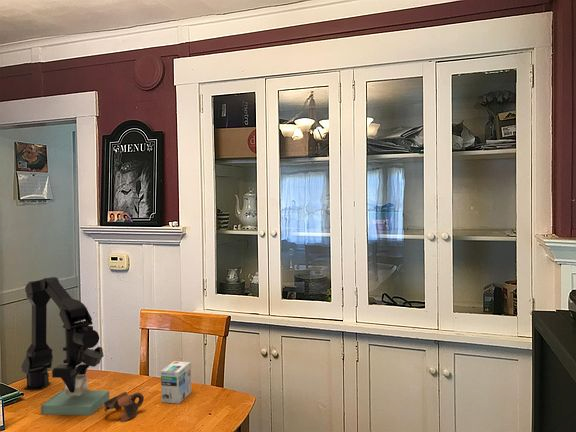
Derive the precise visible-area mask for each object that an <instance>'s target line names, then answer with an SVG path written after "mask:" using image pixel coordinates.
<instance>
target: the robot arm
mask: <svg viewBox="0 0 576 432" xmlns="http://www.w3.org/2000/svg"><path fill="white" fill-rule="evenodd" d="M24 289H25V295H26V298H27V300H28V301H29V303H30V304H31V344H30V346H29V347H28V349H27V350H26V355H25V359H24V360H23V363H22V364H21V371H22V372H23V373H24V374H26V386H24V388H23V389H24V390H42V389H43V388H45V387H47V386H48V385H50V384H51V381H50V378H49V372H48V369H51V368H52V366H53V365H52V363H53V358H54V357H53V349H52V348H51V347H50V346H49V344H48V342H47V323H48V321H47V319H48V316H47V306H48V303H49V302H50V300H52V301H53V302H54V304H55V305H56V306H57V307H58V309H59V314H58V315H59V317H60V319H61V321H62V323H63V325H62V328H63V329H64V330H65V331H64V335H65V338H64V339H65V346H63V347H62V352H63V351H64V352H65V358H64V359H63V364H59V365H57V366H56V367H54V368H53V369H52V370H51V377H52V378H54V379H55V378H56V379H58V378H59V379H60V378H61V380H62V381H63V382H64V385H65V384H66V386H67V388H68V389H69V391H70V392H71V393H73V392H74V390H75V378H76V376H77V375H87V371H88V369H89V368H90V367H92V368H94V367H96V366H98V365H99V364H100V363H101V360H102V358H103V357H104V349H103V347H101V346H97V347H96V345H97V344H98V343H99V341H100V335H99V333H98V331H96V330H95V329H94V326H93V318H92V316H91V315H90V312H89V310H88V308H87V306H86V305H85V304H84V303H83V302H81V301H80V300H78V299H75V298H73V297H72V296H71V295H70V294H69V292H67V290H66V289H65V288H64V287H63V285H62V284H61V283H60V280H59V279H58V277H56V276H52V277H51V276H50V277H44V278H41V279H40V280H32V281H29V282H28V283H27V284H26V285H25V288H24ZM94 348H95V349H94Z"/></svg>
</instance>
